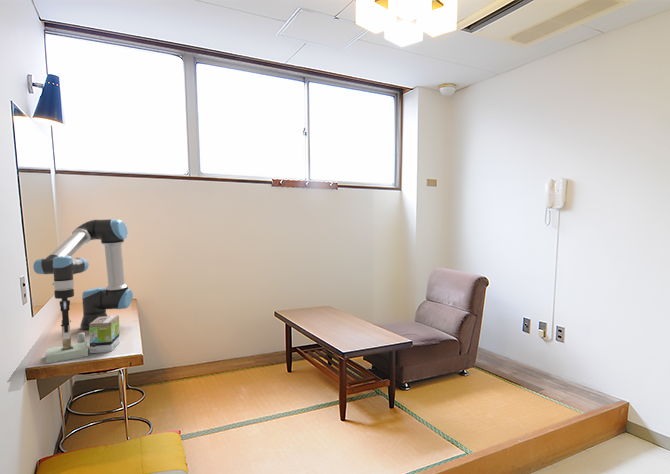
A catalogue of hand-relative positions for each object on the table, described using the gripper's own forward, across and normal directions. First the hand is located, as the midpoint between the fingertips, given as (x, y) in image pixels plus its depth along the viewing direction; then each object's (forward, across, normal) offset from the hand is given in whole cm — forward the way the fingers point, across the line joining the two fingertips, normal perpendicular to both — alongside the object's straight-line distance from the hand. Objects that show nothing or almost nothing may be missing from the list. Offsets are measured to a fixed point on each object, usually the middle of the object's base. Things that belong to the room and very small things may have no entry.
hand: (66, 337), depth 181 cm
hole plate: (+9, 0, 0) cm, 9 cm away
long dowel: (+5, 0, 0) cm, 5 cm away
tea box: (+9, -2, +16) cm, 18 cm away
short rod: (+9, -11, +6) cm, 15 cm away
